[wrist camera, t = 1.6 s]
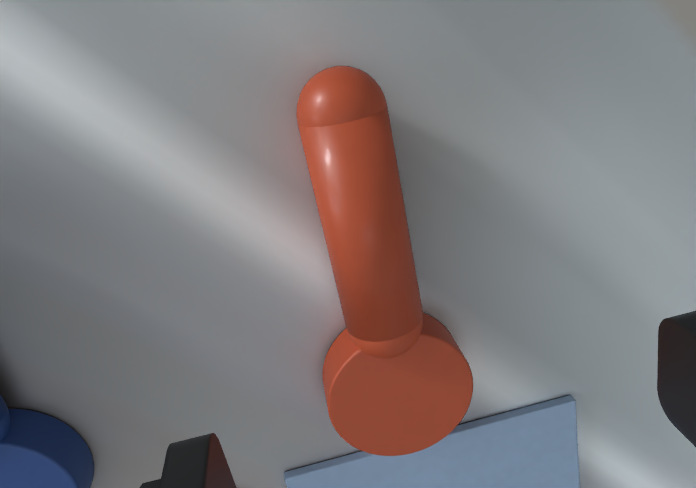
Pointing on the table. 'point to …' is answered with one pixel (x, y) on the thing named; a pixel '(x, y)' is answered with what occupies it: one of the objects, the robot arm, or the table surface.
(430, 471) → the blue mat
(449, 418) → the terracotta spoon
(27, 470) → the blue spoon
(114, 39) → the table surface
